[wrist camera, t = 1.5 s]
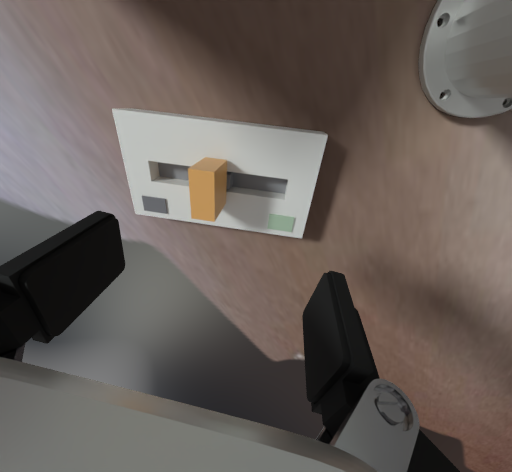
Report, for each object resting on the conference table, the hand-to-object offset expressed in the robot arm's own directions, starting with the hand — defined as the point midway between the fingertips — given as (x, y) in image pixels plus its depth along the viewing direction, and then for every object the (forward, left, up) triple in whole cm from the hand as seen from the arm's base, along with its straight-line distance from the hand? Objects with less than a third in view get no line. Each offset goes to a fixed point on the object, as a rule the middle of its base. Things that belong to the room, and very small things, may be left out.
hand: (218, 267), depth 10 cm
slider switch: (+5, +2, -19) cm, 20 cm away
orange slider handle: (+5, +2, -18) cm, 19 cm away
